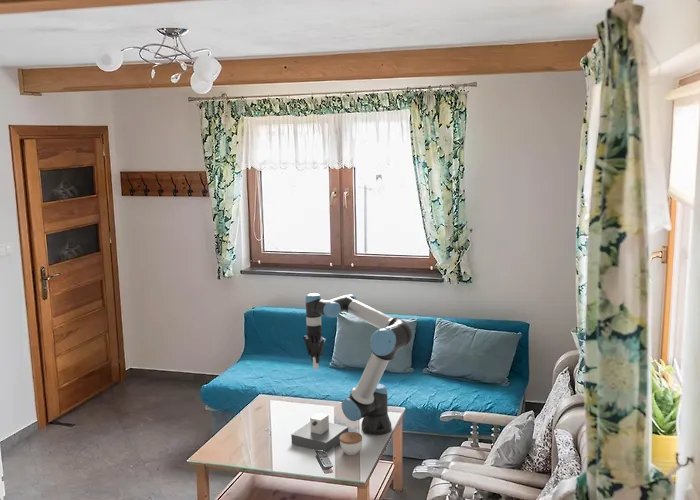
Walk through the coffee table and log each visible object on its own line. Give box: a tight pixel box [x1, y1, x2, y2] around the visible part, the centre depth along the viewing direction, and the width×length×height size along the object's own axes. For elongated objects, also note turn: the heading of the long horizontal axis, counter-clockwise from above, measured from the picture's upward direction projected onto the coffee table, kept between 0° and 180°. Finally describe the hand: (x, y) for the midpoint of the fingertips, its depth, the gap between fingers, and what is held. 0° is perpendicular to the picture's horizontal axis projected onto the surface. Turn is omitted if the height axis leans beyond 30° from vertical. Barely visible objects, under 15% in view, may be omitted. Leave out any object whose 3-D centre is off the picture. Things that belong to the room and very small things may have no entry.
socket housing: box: [290, 421, 349, 453], centre depth 339 cm, size 20×20×5 cm
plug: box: [309, 412, 330, 434], centre depth 337 cm, size 6×9×10 cm
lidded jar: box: [339, 431, 363, 456], centre depth 325 cm, size 11×11×9 cm
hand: (315, 368), depth 354 cm, fingers closed
